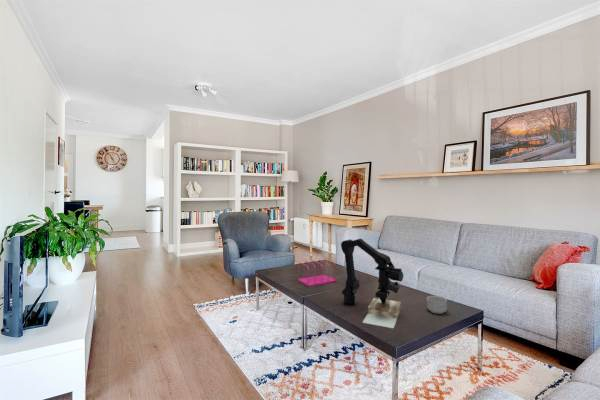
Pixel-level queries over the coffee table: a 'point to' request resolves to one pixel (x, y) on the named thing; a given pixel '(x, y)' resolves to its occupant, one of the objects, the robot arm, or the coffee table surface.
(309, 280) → the file sorter
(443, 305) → the teacup
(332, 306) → the coffee table surface
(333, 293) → the coffee table surface
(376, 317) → the sage mat
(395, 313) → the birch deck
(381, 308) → the walnut tile
